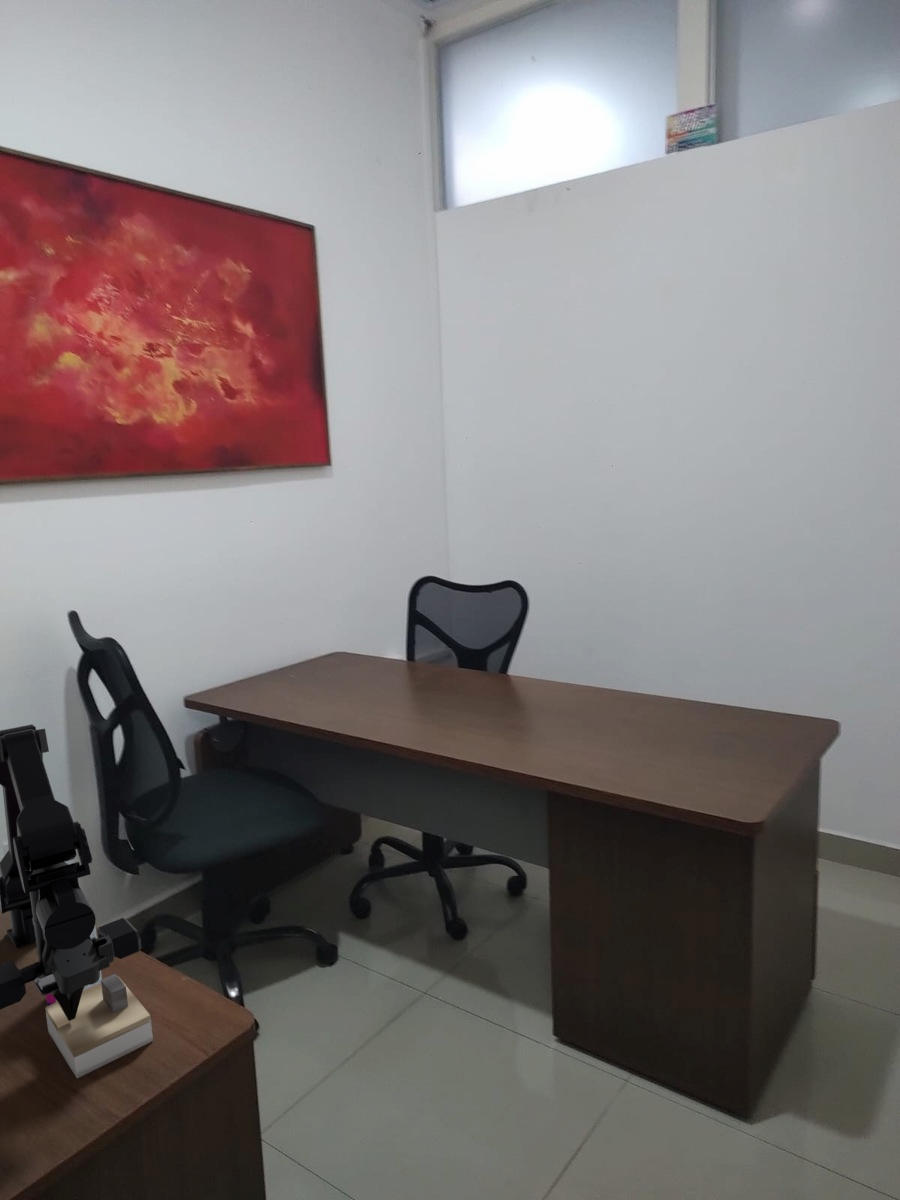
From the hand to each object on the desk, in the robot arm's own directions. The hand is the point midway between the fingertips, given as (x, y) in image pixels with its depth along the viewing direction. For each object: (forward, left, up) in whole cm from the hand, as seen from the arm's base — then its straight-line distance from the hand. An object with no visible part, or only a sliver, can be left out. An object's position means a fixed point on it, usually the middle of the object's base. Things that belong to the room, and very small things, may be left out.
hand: (71, 1018), depth 112 cm
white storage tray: (0, +3, -4) cm, 6 cm away
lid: (0, +3, -1) cm, 4 cm away
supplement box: (-12, +4, -5) cm, 13 cm away
